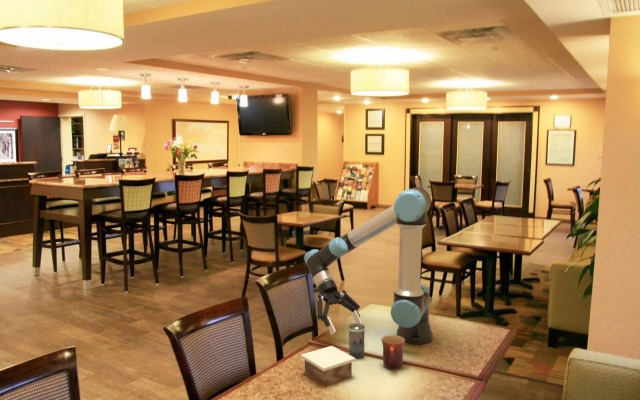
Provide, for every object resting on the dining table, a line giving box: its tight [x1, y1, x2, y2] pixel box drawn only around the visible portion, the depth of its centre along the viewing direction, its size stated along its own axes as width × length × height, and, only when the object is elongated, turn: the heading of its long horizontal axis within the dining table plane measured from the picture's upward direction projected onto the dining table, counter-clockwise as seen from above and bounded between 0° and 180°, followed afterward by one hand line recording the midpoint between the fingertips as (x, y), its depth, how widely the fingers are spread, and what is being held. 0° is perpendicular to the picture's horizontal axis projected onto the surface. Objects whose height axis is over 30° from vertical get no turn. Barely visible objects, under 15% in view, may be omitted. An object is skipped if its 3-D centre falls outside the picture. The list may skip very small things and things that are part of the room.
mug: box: [380, 334, 405, 370], centre depth 190 cm, size 12×9×10 cm
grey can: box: [348, 323, 366, 360], centre depth 200 cm, size 6×6×12 cm
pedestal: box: [300, 345, 357, 387], centre depth 184 cm, size 14×14×7 cm
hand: (347, 329), depth 203 cm, fingers open, 13 cm apart
